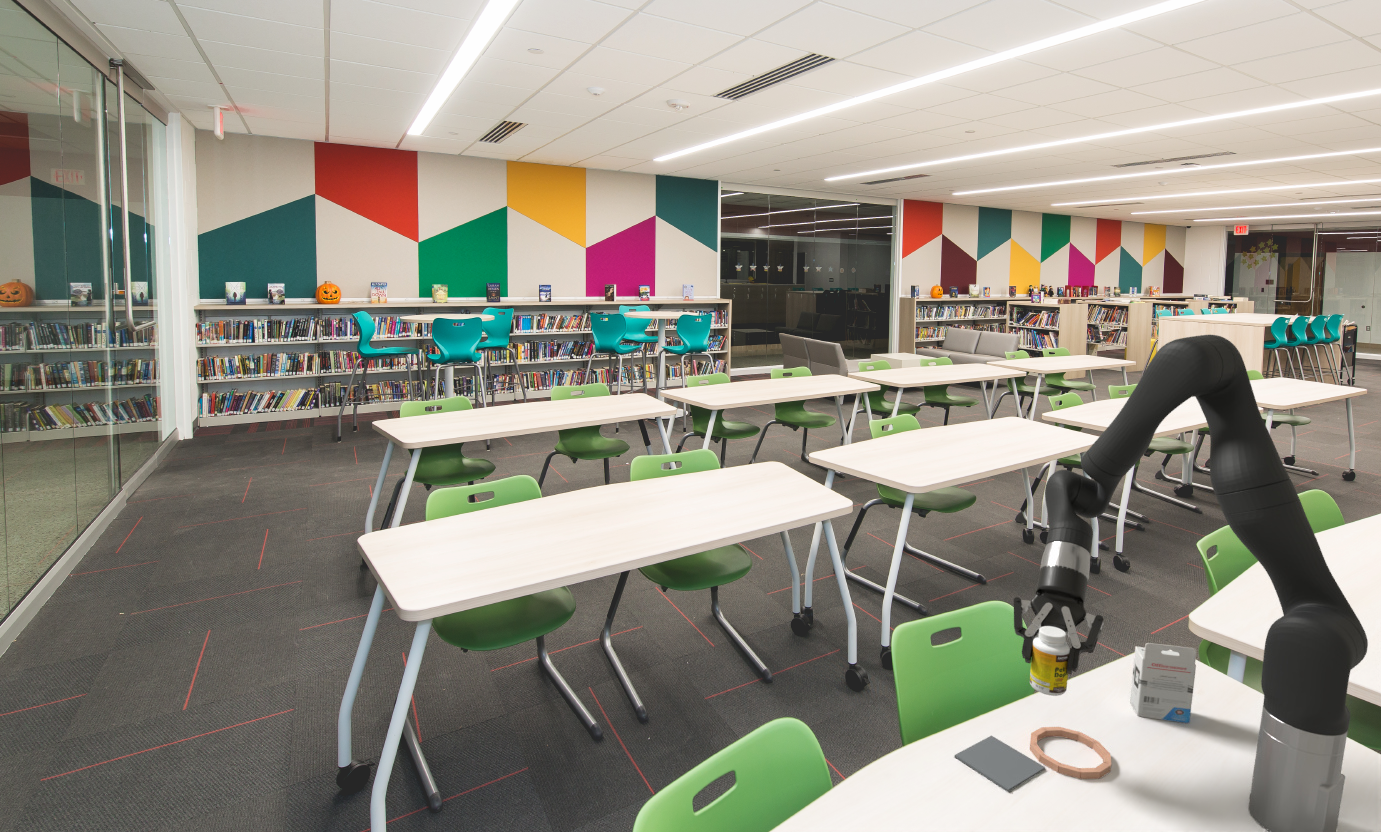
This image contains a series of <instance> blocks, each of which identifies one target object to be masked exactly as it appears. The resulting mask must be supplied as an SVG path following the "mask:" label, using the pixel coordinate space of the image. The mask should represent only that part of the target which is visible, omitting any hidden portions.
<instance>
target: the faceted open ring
mask: <svg viewBox="0 0 1381 832" xmlns="http://www.w3.org/2000/svg"><path fill="white" fill-rule="evenodd" d="M1047 737H1049V738H1051V737H1055V738H1056V737H1061V738H1065V739H1068V740H1069V739H1070V740H1073V741H1076V742H1079V743H1081V744H1083V745H1085V746H1087V747H1089V748H1090V749H1093V751H1095V752H1096V754H1097V755H1098V756H1099V757H1100V758H1101V759H1102V763H1101V764H1099V765H1097V766H1096V767H1076V766H1072V765H1069V764H1065V763H1061V762H1059V761H1058V760H1056V759H1054V758H1052V757H1051V756H1049V755H1047V754H1046V753H1045V752H1044V751H1043V750H1042V749H1041V748H1040V746H1039V745H1038V742H1039V741H1040V740H1043V739H1044V738H1047ZM1029 742H1030V743H1029V750H1030V752H1031V753H1032V755H1033V756H1034V757H1035V758H1036V759H1037V762H1038V763H1040V764H1041V765H1042V764H1043V766H1046V767H1048V769H1051V770H1052V771H1054V772H1056V773H1058V774H1062V775H1064V776H1068V777H1072V778H1076V779H1078V780H1089V779H1090V780H1094V779H1098V780H1099V779H1102V778H1103V777H1104V776H1106V775H1107V774H1109V773H1111V771H1112V769H1111V768H1112V757H1111V753H1110V752H1109V750H1108V749H1106V747H1105V746H1104V745H1102V744H1101V742H1099V741H1098V740H1096V739H1095V738H1092V737H1091V736H1089V735H1087V734H1085V733H1083V732H1082V731H1081V732H1080V731H1078V730H1073V729H1071V728H1066V727H1061V726H1043V727H1039V728H1038V729H1036V730H1033V732H1031V734H1030V741H1029Z"/></svg>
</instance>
